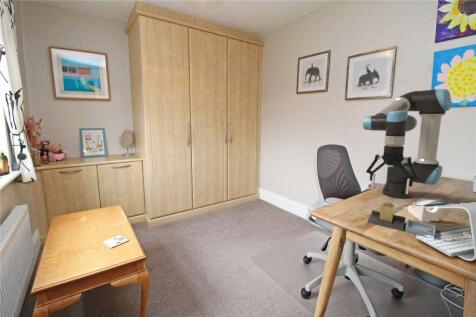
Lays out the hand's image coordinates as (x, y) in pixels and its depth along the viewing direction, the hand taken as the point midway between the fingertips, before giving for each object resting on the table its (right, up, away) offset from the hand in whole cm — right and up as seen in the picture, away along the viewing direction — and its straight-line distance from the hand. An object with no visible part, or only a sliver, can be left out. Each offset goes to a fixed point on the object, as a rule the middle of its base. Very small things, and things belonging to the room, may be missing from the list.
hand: (389, 190), depth 109 cm
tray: (+10, -17, -5) cm, 21 cm away
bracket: (+23, -15, +10) cm, 29 cm away
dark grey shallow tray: (0, -16, +3) cm, 16 cm away
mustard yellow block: (0, -16, +3) cm, 16 cm away
